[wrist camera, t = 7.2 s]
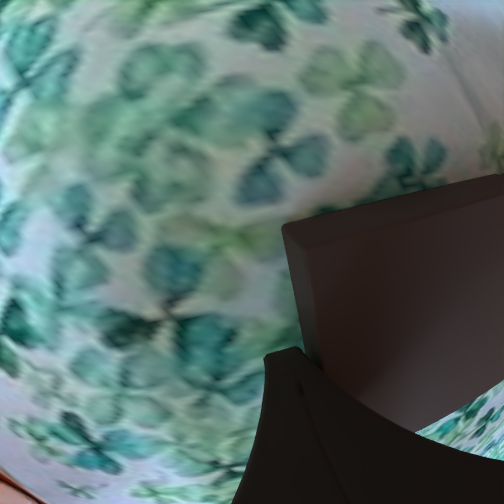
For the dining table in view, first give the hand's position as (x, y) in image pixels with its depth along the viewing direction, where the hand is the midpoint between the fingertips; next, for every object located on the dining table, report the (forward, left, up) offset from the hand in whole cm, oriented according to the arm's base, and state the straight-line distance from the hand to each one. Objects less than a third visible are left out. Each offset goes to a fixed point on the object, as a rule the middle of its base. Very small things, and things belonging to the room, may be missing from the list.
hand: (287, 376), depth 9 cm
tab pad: (0, -5, -1) cm, 5 cm away
